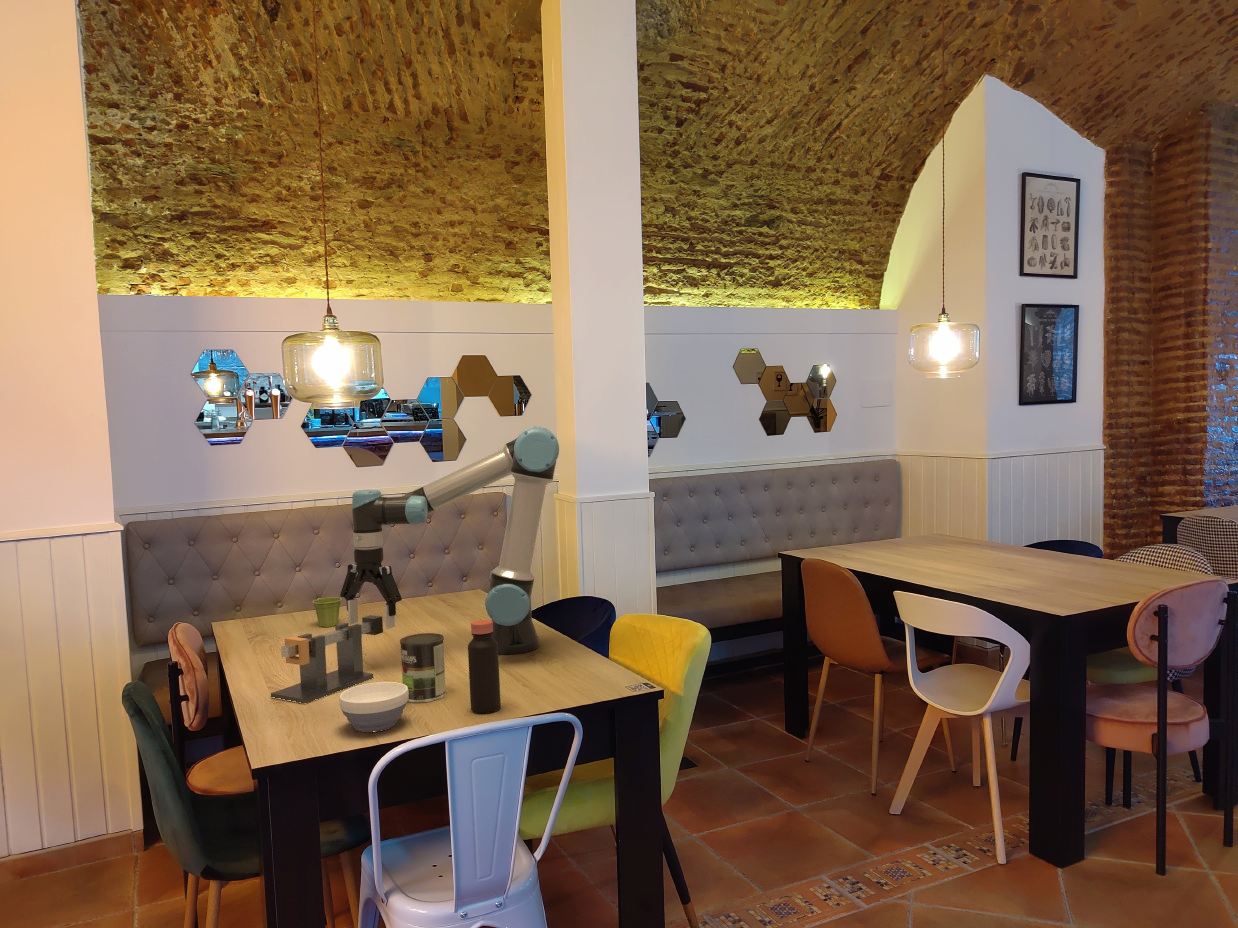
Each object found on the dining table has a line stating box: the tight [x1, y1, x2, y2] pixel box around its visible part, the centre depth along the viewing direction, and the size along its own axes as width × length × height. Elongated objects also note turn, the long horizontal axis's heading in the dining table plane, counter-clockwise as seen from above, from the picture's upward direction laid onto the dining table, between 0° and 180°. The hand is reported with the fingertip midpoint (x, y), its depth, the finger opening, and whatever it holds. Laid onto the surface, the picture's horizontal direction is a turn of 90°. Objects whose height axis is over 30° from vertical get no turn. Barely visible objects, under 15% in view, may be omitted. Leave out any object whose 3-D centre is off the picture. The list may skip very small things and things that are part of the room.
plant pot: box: [312, 596, 343, 628], centre depth 280 cm, size 9×9×9 cm
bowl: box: [338, 681, 409, 733], centre depth 182 cm, size 14×14×8 cm
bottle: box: [467, 619, 502, 715], centre depth 189 cm, size 7×7×20 cm
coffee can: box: [399, 632, 447, 704], centre depth 201 cm, size 10×10×14 cm
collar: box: [284, 636, 309, 666], centre depth 204 cm, size 6×2×6 cm, turn 61°
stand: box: [270, 622, 374, 704], centre depth 210 cm, size 12×22×14 cm, turn 151°
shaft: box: [280, 614, 384, 658], centre depth 214 cm, size 4×30×4 cm, turn 151°
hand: (371, 625), depth 226 cm, fingers open, 13 cm apart
